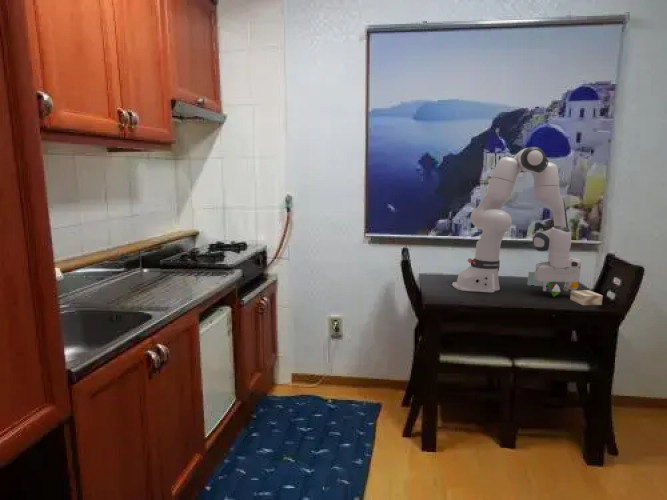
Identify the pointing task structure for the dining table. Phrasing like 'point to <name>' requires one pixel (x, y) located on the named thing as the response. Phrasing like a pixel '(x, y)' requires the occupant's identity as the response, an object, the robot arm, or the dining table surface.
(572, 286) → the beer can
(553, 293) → the geometric puzzle
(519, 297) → the dining table surface
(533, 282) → the right angle wall
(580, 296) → the oak base block
